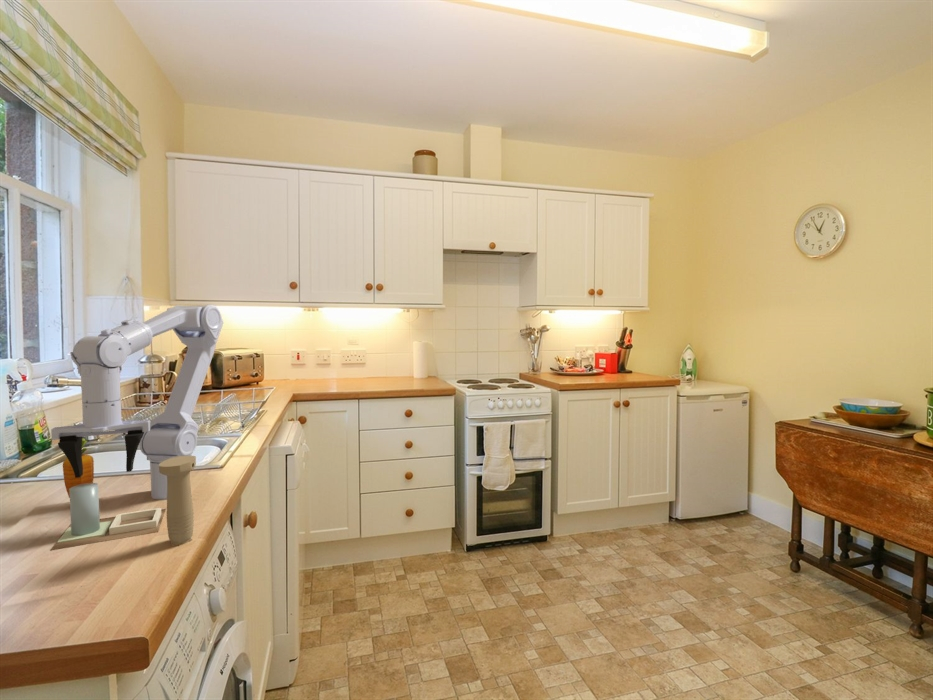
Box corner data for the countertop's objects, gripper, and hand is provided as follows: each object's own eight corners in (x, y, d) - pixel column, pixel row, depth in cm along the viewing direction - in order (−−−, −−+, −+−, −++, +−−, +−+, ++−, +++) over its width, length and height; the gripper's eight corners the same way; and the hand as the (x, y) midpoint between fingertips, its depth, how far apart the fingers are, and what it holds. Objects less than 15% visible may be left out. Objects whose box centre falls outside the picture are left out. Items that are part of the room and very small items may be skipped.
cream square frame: (117, 520, 90) (117, 514, 90) (161, 513, 93) (161, 507, 93) (109, 534, 84) (109, 528, 84) (156, 527, 87) (156, 520, 87)
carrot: (63, 510, 98) (59, 438, 98) (93, 503, 102) (89, 434, 101) (67, 517, 95) (63, 442, 94) (98, 509, 99) (94, 438, 98)
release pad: (68, 528, 87) (68, 527, 87) (112, 521, 90) (112, 520, 90) (57, 543, 81) (57, 542, 81) (104, 535, 84) (104, 534, 84)
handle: (204, 538, 85) (201, 455, 84) (187, 555, 79) (183, 466, 78) (176, 539, 84) (172, 456, 84) (156, 557, 78) (152, 467, 77)
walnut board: (71, 529, 89) (71, 523, 89) (166, 514, 96) (165, 508, 96) (50, 557, 78) (49, 550, 78) (158, 538, 85) (158, 531, 85)
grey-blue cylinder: (74, 528, 86) (72, 485, 86) (102, 524, 88) (100, 481, 87) (68, 537, 82) (66, 492, 82) (97, 533, 84) (95, 488, 84)
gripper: (43, 407, 82) (47, 485, 82) (145, 400, 88) (148, 473, 89) (57, 401, 88) (60, 474, 89) (150, 396, 95) (153, 463, 95)
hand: (104, 473), depth 89 cm, fingers open, 7 cm apart
